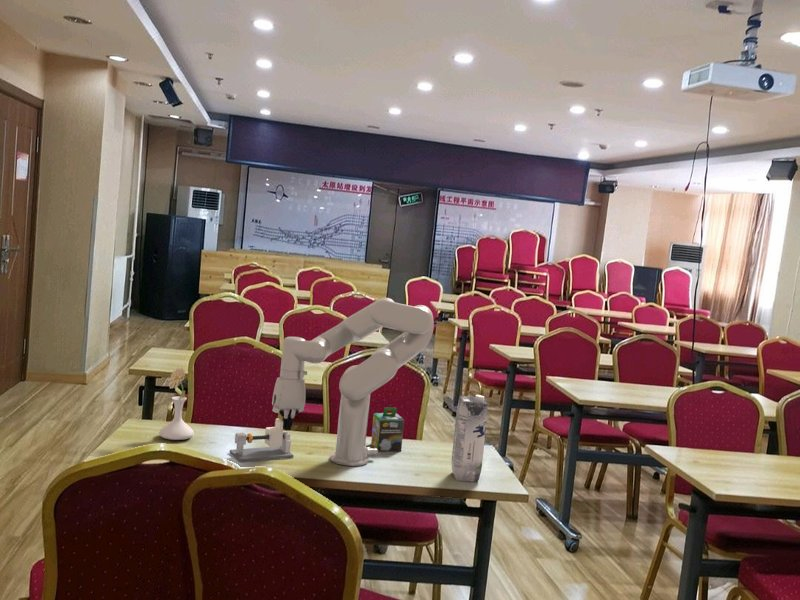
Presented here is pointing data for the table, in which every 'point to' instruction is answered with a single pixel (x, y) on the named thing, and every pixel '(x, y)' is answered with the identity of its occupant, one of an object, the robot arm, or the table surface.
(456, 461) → the juice carton
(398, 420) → the chalk box
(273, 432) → the cream tall block
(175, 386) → the flower in vase
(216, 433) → the table surface
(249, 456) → the mini bench vise
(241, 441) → the connector
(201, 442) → the table surface
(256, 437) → the lead screw with knob
